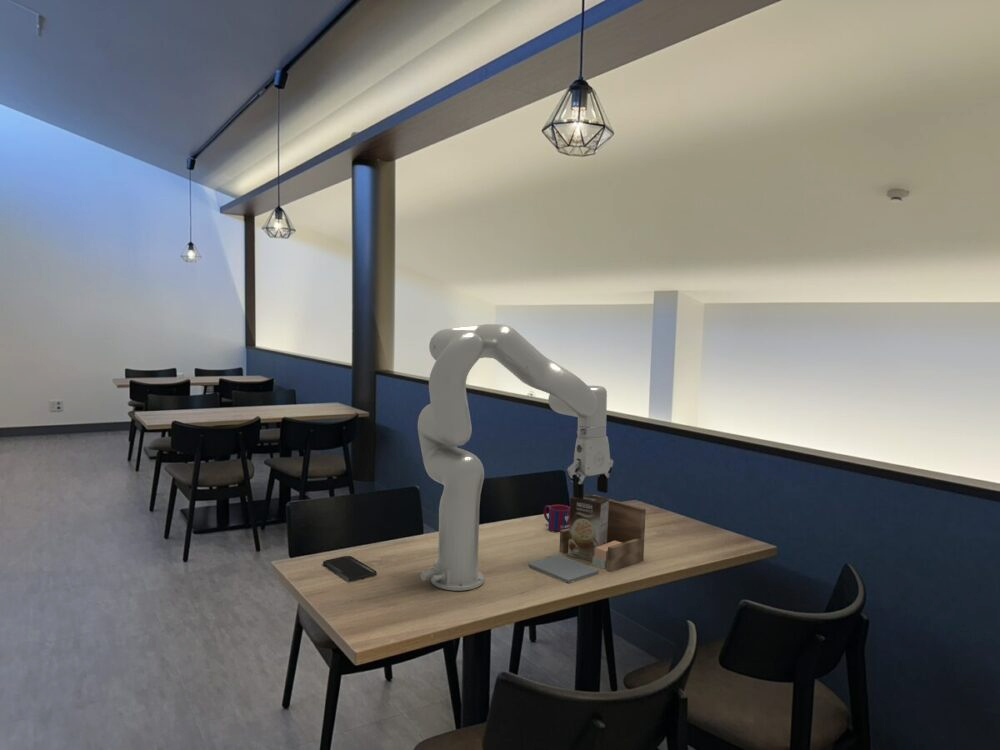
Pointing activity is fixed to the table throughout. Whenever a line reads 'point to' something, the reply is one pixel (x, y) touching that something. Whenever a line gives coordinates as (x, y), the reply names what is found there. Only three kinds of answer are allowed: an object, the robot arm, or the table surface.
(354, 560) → the phone
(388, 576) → the table surface
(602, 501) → the coffee box
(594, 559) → the offcut lower
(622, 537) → the rack
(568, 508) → the mug
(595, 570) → the mat
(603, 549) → the offcut upper
